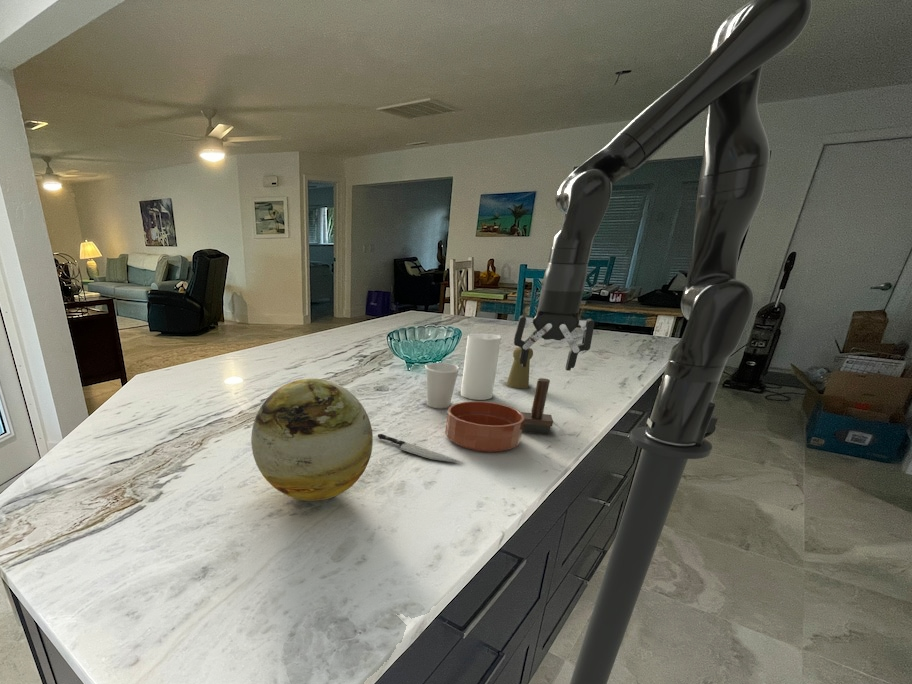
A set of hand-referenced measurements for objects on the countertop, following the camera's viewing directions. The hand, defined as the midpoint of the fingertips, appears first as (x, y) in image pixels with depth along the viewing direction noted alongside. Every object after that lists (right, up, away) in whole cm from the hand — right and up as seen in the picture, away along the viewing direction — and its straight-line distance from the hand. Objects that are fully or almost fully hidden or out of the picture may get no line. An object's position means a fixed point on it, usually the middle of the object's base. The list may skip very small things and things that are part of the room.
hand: (545, 367), depth 99 cm
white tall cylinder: (-5, -3, +29) cm, 29 cm away
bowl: (-13, -15, +1) cm, 20 cm away
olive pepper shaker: (+10, +1, +36) cm, 38 cm away
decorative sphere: (-50, -25, -18) cm, 58 cm away
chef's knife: (-29, -18, -4) cm, 34 cm away
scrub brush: (0, -13, +6) cm, 14 cm away
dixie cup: (-17, -6, +22) cm, 28 cm away
